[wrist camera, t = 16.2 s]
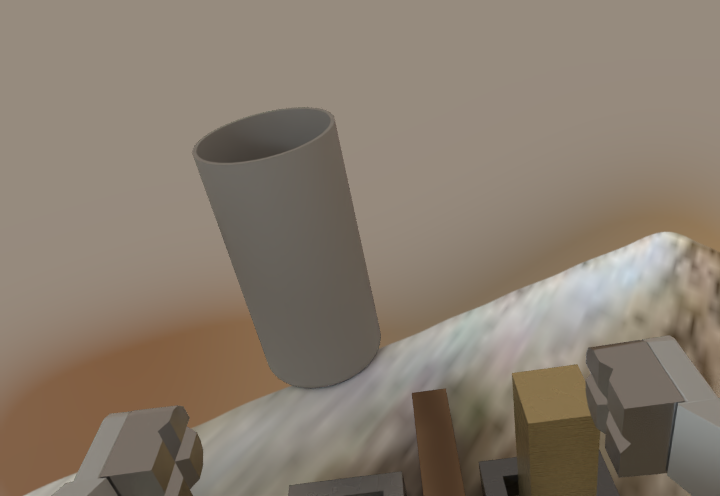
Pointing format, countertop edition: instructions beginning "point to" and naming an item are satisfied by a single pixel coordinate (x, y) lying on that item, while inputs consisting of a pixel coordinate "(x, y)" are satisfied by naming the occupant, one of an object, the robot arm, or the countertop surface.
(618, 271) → the countertop surface
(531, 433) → the lock bar
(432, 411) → the rail
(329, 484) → the grey square frame
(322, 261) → the tall grey cup
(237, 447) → the countertop surface
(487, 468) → the frame
